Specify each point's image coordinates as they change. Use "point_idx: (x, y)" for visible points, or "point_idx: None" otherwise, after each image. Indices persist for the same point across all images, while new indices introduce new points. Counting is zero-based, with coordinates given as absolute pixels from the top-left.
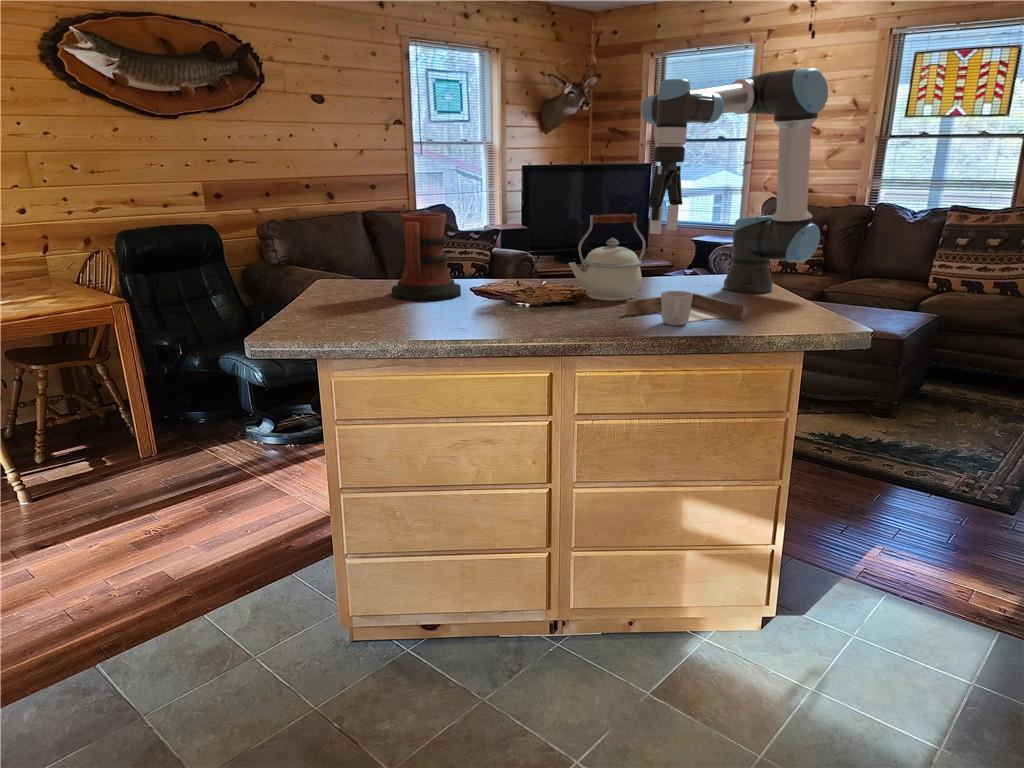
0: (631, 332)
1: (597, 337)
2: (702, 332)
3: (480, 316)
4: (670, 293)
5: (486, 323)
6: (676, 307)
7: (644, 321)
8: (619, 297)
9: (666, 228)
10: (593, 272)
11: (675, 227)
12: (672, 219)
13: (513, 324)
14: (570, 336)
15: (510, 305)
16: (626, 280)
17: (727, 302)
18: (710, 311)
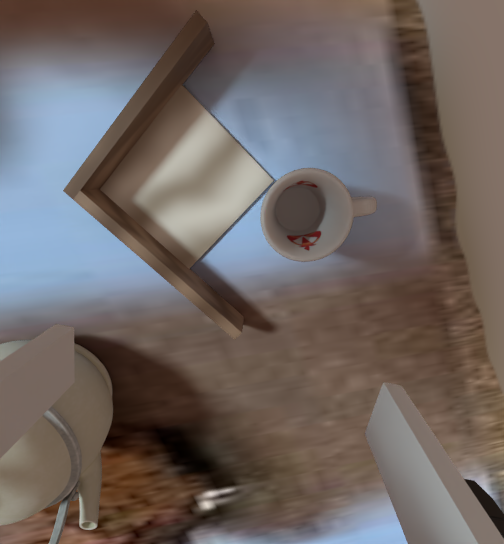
0: (402, 285)
1: (455, 337)
2: (372, 132)
3: (330, 529)
4: (276, 238)
5: (379, 510)
6: (376, 205)
7: (291, 276)
8: (94, 362)
9: (70, 385)
10: (87, 460)
11: (62, 340)
12: (23, 397)
13: (377, 477)
14: (454, 381)
15: (228, 513)
16: (76, 376)
17: (166, 71)
18: (141, 134)
